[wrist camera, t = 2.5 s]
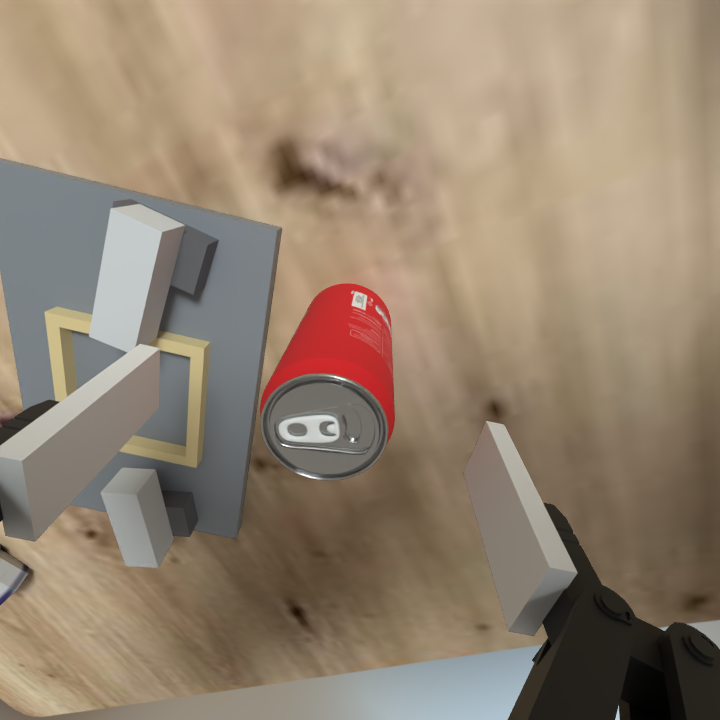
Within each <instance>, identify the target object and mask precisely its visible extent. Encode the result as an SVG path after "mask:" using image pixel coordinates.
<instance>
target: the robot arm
mask: <svg viewBox="0 0 720 720" xmlns="http://www.w3.org/2000/svg"><path fill="white" fill-rule="evenodd" d="M159 378H160V348H157V347H152V346H148V345H143V344H139V345H138V346H136V347H135V348H134V349H132V350H131V351H129V352H128V353H127V354H125V355H124V356H123V357H121V358H120V359H118V360H117V361H116V362H114V363H113V364H112V365H110V366H109V367H107V368H106V369H105V370H103V371H102V372H101V373H99V374H98V375H96V376H95V377H94V378H92V379H91V380H90V381H88V382H87V383H85V384H84V385H83V386H81V387H80V388H79V389H77V390H76V391H74V392H73V393H72V394H70V395H69V396H68V397H66V398H65V399H63V400H62V401H61V402H59V401H54V400H47V401H44V402H41V403H39V404H36V405H33V406H31V407H29V408H27V409H26V410H24V411H23V412H21V413H20V414H18V415H17V416H16V417H15V419H11V420H10V421H8V422H7V423H5V424H4V425H3V426H2V428H1V427H0V522H1V521H2V522H3V526H4V531H5V536H9V537H14V538H19V539H25V540H30V541H36V540H37V539H38V538H39V537H40V536H41V535H42V534H43V533H44V532H45V530H46V529H47V528H48V527H49V526H50V525H51V524H52V523H53V522H54V521H55V520H56V519H57V518H58V516H59V515H60V514H61V513H62V512H63V511H64V510H65V509H66V508H67V507H68V506H69V505H70V503H71V502H72V501H73V500H74V499H75V498H76V497H77V496H78V495H79V494H80V493H81V492H82V490H83V489H84V488H85V487H86V486H87V485H88V484H89V483H90V482H91V481H92V480H93V479H94V477H95V476H96V475H97V474H98V473H99V472H100V471H101V470H102V469H103V468H104V467H105V466H106V464H107V463H108V462H109V461H110V460H111V459H112V458H113V457H114V456H115V455H116V454H117V453H118V451H119V450H120V449H121V448H122V447H123V446H124V445H125V444H126V443H127V442H128V441H129V440H130V439H131V437H132V436H133V435H134V434H135V433H136V432H137V431H138V430H139V429H140V428H141V427H142V426H143V424H144V423H145V422H146V421H147V420H148V419H149V418H150V417H151V416H152V415H153V414H154V413H155V411H156V410H157V409H158V408H159ZM463 473H464V477H465V480H466V484H467V487H468V491H469V494H470V498H471V501H472V505H473V508H474V512H475V516H476V519H477V523H478V526H479V530H480V533H481V537H482V540H483V544H484V547H485V551H486V555H487V558H488V562H489V565H490V569H491V572H492V576H493V579H494V583H495V587H496V590H497V594H498V597H499V601H500V604H501V608H502V611H503V615H504V618H505V622H506V626H507V629H508V631H509V632H514V633H519V634H525V635H530V636H534V635H535V634H536V632H537V631H538V629H539V628H540V626H541V625H542V624H543V625H544V628H545V630H546V633H547V636H548V639H547V640H546V641H545V643H544V644H543V646H542V647H541V648H540V650H539V651H538V653H537V654H536V655H535V657H534V658H533V660H532V661H534V662H535V663H534V665H533V667H532V670H531V672H530V674H529V676H528V678H527V680H526V682H525V684H524V686H523V689H522V691H521V693H520V695H519V697H518V699H517V701H516V703H515V706H514V708H513V710H512V712H511V714H510V716H509V718H508V720H615V718H616V713H617V709H618V705H619V713H620V720H720V649H719V648H718V647H717V646H716V644H714V643H713V642H712V641H711V640H710V639H709V638H708V637H706V635H704V634H703V633H701V632H700V631H698V630H697V629H695V628H694V627H692V626H689V625H687V624H684V623H677V622H674V623H673V624H672V625H670V626H669V627H668V628H667V630H666V631H663V630H661V629H659V628H657V627H655V626H653V625H651V624H648V623H646V622H644V621H642V620H640V619H638V618H636V617H635V615H634V613H633V611H632V609H631V608H630V606H629V605H628V604H627V603H626V602H625V600H624V599H623V598H621V597H620V596H619V595H618V594H617V593H616V592H614V591H612V590H611V589H609V588H607V587H606V586H603V585H602V584H601V582H600V580H599V578H598V577H597V575H596V573H595V571H594V569H593V567H592V565H591V564H590V562H589V560H588V558H587V556H586V554H585V552H584V551H583V549H582V547H581V546H580V545H579V541H578V540H577V538H576V536H575V534H573V530H572V528H571V527H570V525H569V523H568V521H567V519H566V518H565V517H564V516H563V514H562V513H561V512H560V511H559V510H558V509H557V508H556V507H555V506H554V505H551V504H546V503H543V502H542V500H541V498H540V496H539V494H538V492H537V490H536V488H535V486H534V484H533V482H532V480H531V478H530V476H529V474H528V472H527V470H526V468H525V466H524V464H523V462H522V460H521V458H520V456H519V453H518V451H517V449H516V447H515V445H514V443H513V441H512V439H511V437H510V435H509V433H508V431H507V429H506V427H505V425H503V424H498V423H494V422H489V421H486V422H485V425H484V427H483V429H482V432H481V434H480V436H479V438H478V441H477V443H476V445H475V447H474V450H473V452H472V454H471V457H470V459H469V461H468V463H467V466H466V468H465V470H464V472H463Z"/></svg>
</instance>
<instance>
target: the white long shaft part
mask: <svg viewBox="0 0 720 720" xmlns="http://www.w3.org/2000/svg"><path fill="white" fill-rule="evenodd" d="M0 545H1V544H0ZM27 575H28V567H27V566H25V565H24V564H23V563H21V562H20V561H18V560H17V559H15V558H14V557H12V556H11V555H9V554H7V553H6V552H4V551H2V550H1V549H0V605H1V604H2V603H3V602H4V601H5V600H7V599H8V598H9V597H10V596H11V595H12V594H13V593H14V592H15V591H16V590H17V589H18V587H19V586H20V585H21V583H22V582H23V580H24V579H25V577H26V576H27Z"/></svg>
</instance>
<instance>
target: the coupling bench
mask: <svg viewBox="0 0 720 720" xmlns="http://www.w3.org/2000/svg"><path fill="white" fill-rule="evenodd" d="M281 232H282V228H281V227H277V226H273V225H269V224H265V223H261V222H257V221H253V220H248V219H244V218H240V217H236V216H232V215H228V214H224V213H220V212H216V211H212V210H208V209H204V208H200V207H196V206H192V205H188V204H184V203H180V202H176V201H172V200H168V199H163V198H159V197H155V196H151V195H147V194H143V193H139V192H135V191H131V190H127V189H123V188H119V187H115V186H111V185H107V184H103V183H99V182H95V181H91V180H87V179H83V178H78V177H74V176H70V175H66V174H62V173H58V172H54V171H50V170H46V169H42V168H38V167H34V166H30V165H26V164H22V163H18V162H14V161H10V160H6V159H2V158H0V273H1V279H2V285H3V291H4V297H5V303H6V308H7V314H8V320H9V326H10V332H11V338H12V344H13V350H14V356H15V362H16V368H17V374H18V380H19V386H20V392H21V398H22V404H23V410H26V409H27V408H29V407H31V406H33V405H36V404H39V403H41V402H44V401H47V400H54V401H59V402H61V401H62V400H63V399H65V398H66V397H68V396H69V395H70V394H72V393H73V392H74V391H76V390H77V389H79V388H80V387H81V386H83V385H84V384H85V383H87V382H88V381H90V380H91V379H92V378H94V377H95V376H96V375H98V374H99V373H101V372H102V371H103V370H105V369H106V368H107V367H109V366H110V365H112V364H113V363H114V362H116V361H117V360H118V359H120V358H121V357H123V356H124V355H125V354H127V353H128V352H129V351H131V350H132V349H134V348H135V347H136V346H138V345H139V344H143V345H148V346H152V347H157V348H160V378H159V408H158V409H157V410H156V411H155V413H154V414H153V415H152V416H151V417H150V418H149V419H148V420H147V421H146V422H145V423H144V424H143V426H142V427H141V428H140V429H139V430H138V431H137V432H136V433H135V434H134V435H133V436H132V437H131V439H130V440H129V441H128V442H127V443H126V444H125V445H124V446H123V447H122V448H121V449H120V450H119V451H118V453H117V454H116V455H115V456H114V457H113V458H112V459H111V460H110V461H109V462H108V463H107V464H106V466H105V467H104V468H103V469H102V470H101V471H100V472H99V473H98V474H97V475H96V476H95V477H94V479H93V480H92V481H91V482H90V483H89V484H88V485H87V486H86V487H85V488H84V489H83V490H82V492H81V493H80V494H79V495H78V496H77V497H76V498H75V499H74V500H73V501H72V502H71V503H70V505H74V506H79V507H84V508H89V509H93V510H98V511H103V512H107V513H108V516H109V519H110V522H111V525H112V528H113V530H114V533H115V536H116V539H117V542H118V545H119V548H120V551H121V553H122V556H123V559H124V562H125V565H126V566H136V567H151V568H158V567H159V566H160V564H161V562H162V560H163V559H164V557H165V555H166V553H167V551H168V550H169V548H170V546H171V544H172V543H173V541H174V538H173V536H183V537H190V536H191V534H192V532H193V530H195V531H200V532H204V533H209V534H214V535H219V536H224V537H229V538H233V539H236V537H237V535H238V532H239V530H240V527H241V519H242V512H243V505H244V498H245V491H246V484H247V476H248V469H249V462H250V455H251V448H252V440H253V433H254V426H255V419H256V412H257V404H258V397H259V390H260V383H261V376H262V368H263V361H264V354H265V347H266V340H267V332H268V325H269V318H270V311H271V304H272V296H273V289H274V282H275V275H276V268H277V260H278V253H279V246H280V239H281Z"/></svg>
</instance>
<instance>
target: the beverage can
mask: <svg viewBox="0 0 720 720" xmlns="http://www.w3.org/2000/svg"><path fill="white" fill-rule="evenodd" d="M260 414H261V432H262V436H263V439H264V442H265V444H266V446H267V448H268V449H269V451H270V452H271V454H272V455H273V456H274V457H275V458H276V459H277V460H278V461H279V462H280V463H281V464H282V465H284V466H285V467H286V468H288V469H289V470H291V471H292V472H294V473H296V474H298V475H301V476H304V477H308V478H311V479H316V480H326V481H332V480H342V479H347V478H350V477H353V476H356V475H358V474H360V473H362V472H364V471H366V470H367V469H369V468H370V467H371V466H372V465H373V464H374V463H375V462H376V461H377V460H378V459H379V458H380V456H381V455H382V453H383V451H384V449H385V447H386V444H387V443H388V441H389V439H390V437H391V434H392V431H393V428H394V420H395V413H394V387H393V362H392V337H391V319H390V315H389V312H388V309H387V307H386V305H385V304H384V302H383V301H382V300H381V298H380V297H379V296H378V295H377V294H375V293H374V292H373V291H371V290H369V289H368V288H365V287H363V286H360V285H356V284H338V285H334V286H331V287H329V288H327V289H325V290H323V291H322V292H321V293H319V294H318V295H317V296H316V297H315V298H314V300H313V301H312V303H311V304H310V306H309V308H308V310H307V312H306V314H305V315H304V317H303V319H302V321H301V323H300V325H299V327H298V328H297V330H296V332H295V334H294V336H293V338H292V340H291V341H290V343H289V345H288V347H287V349H286V351H285V353H284V355H283V356H282V358H281V360H280V362H279V364H278V366H277V368H276V369H275V371H274V373H273V375H272V377H271V379H270V381H269V382H268V384H267V386H266V388H265V390H264V393H263V396H262V400H261V406H260Z"/></svg>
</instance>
